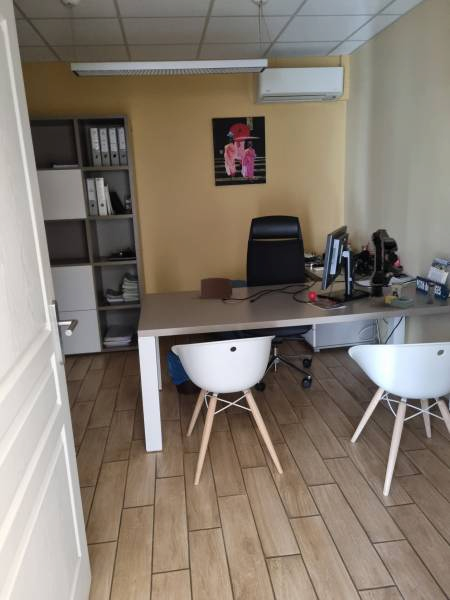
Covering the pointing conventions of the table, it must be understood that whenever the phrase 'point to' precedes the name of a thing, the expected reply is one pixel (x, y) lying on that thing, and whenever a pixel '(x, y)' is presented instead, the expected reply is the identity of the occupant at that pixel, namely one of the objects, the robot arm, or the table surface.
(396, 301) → the parts tray
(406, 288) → the mechanical component
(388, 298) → the chock
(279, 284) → the table surface
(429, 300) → the stop pin
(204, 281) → the letter holder
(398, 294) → the trolley castor
